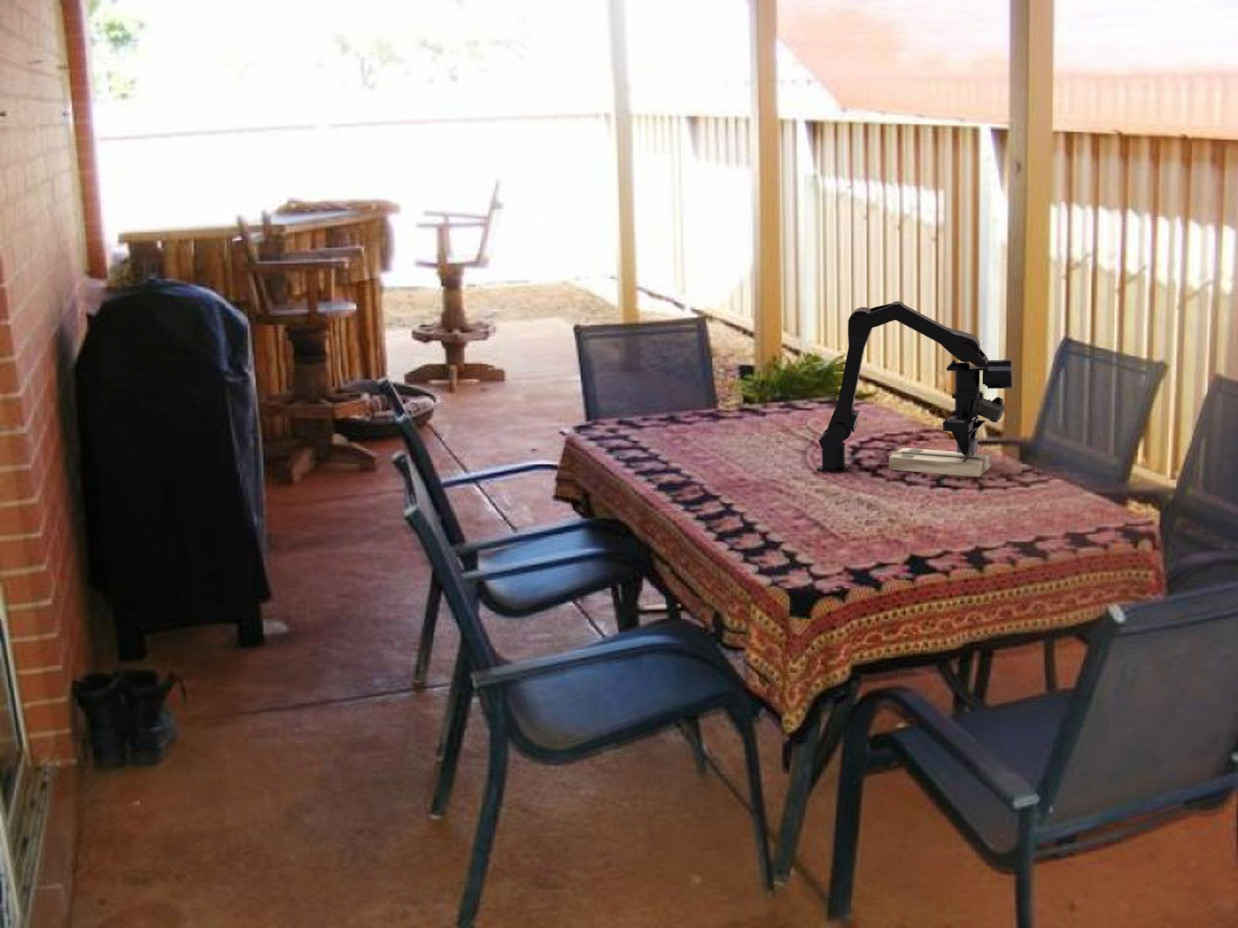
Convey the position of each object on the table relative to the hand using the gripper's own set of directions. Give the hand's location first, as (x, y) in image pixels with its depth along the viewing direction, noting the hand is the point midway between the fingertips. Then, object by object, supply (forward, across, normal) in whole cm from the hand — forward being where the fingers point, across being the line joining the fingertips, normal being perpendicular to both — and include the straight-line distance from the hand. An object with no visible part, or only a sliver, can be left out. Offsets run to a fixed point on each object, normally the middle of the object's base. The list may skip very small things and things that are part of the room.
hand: (967, 453), depth 359 cm
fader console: (+4, 0, +7) cm, 8 cm away
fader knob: (+1, 0, 0) cm, 1 cm away
